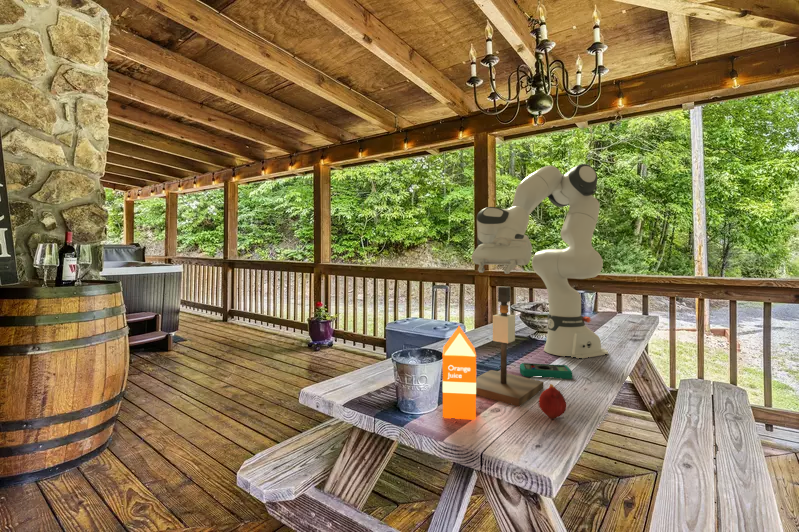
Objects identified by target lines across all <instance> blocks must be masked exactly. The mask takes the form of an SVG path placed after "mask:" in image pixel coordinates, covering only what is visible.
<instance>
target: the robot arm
mask: <svg viewBox="0 0 799 532" xmlns="http://www.w3.org/2000/svg"><path fill="white" fill-rule="evenodd" d="M597 184H598V175H597V172H596V170H595V169H594V167H593V166H592V165H590V164H588V163H582V164H577V165H576V166H574V167H572V168H571V169H570V170H568V171H567V172H565V173H564V174H563V173H561V171H560V169H559V168H557V167H556V166H554V165H545V166H542V167H541V168H538V169H537V170H535V171H534V172H532V173H530V174H529V175H528V176H526V177H525V178H523V179H522V181H520V182H519V183H518V184H517V186H516V189H515V193H514V197H513V201H512V205H511V207H509V208H501V207H500V208H499V207H495V206H488V207H485V208H483V209H481V210H480V211H479V212H478V213H477V215H476V230H477V232H476V233H477V238H476V244H477V246H476V248H475V249H474V251H473V252H472V255H471V257H470V258H471V260H472V261H473V263H474V265H478V268H477V272H479V273H482V274H483V273H484V272H485V271H486V270H485V267H484V266H485V265H488V266H489V265H496V266H500V265H501V266H504V268H503V272H504V274H506V275H507V274H510V273H511V271H512V270H513V269H515V268H516V267H517V266H527V265H529V263H530V262H531V266H532V269H533V271H534V272H535V273H536V275H538V276H539V277H540V278H541V280H542V281H543V284H544V285H545V288H546V289H547V295H548V313H547V335H546V342H545V345H544V348H543V351H544V352H546V353H547V354H551V355H555V356H557V357H558V356H560V357H565V356H571V357H570V358H573V357H576V358H575V359H579V358H582V359H587V358H588V357H589V358H594V357H601V356H606V355H605V354H607V355H608V354H609V351H608V350H607V349H605V348H604V347H602V342H601V338H600V336H599V335H598V334H596V333H595V332H594V331H593V330H592V329H590V328H589V327H588V326H587V325H586V323H588V324H589V323H590V322H591V321H592V319H591V317H589V316H583V315H582V296H581V294H580V292H579V291H578V290H576V289H575V288H574V287H572V286H571V285H570V284H569V280H568V279H574V280H575V279H577V280H585V279H591V278H596V277H597V276H598V275H600V274H601V271H602V270H603V267H604V262H603V261H604V260H603V257H602V255H600V253H599V252H598V251H597V250H595V248H594V247H593V244H592V239H593V236H594V232H595V229H596V225H597V222H598V219H599V214H600V201H599V200H598V199H597V198H596V197H594V194H595V193H596V192H597V190H598V186H597ZM547 198H548V200H549V202H550V203H552V205H554V206H556V207H559V208H563V207H567V206H568V207H569V208H568V212H567V215H566V216H565V218H564V219H565V220H564V222H563V224H562V227H561V229H560V238H561V239H562V241H563V242H564V243H565V244H567V245H568V247H566V248H548V249H547V248H546V249H542V250H538V251H537V252H535V254H534V255H533V257H532V251H533V247H532V243H531V240H530V238H529V236H528V235H527V234H526V232H527V228H528V226H529V222H530V215H531V214H532V212H534V210H535V209H536V208H537V207H538V206H539V205H540V204H541V203H542V202H543V201H544V200H545V199H547ZM531 258H532V259H531ZM589 358H588V359H589Z"/></svg>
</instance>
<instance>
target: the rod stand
mask: <svg viewBox="0 0 799 532" xmlns="http://www.w3.org/2000/svg"><path fill="white" fill-rule="evenodd" d="M497 302H498V303H499V302H500V304H499V314H500V313H501V316H507V314H509V305H508V303H510V302H511V286H503V285H502V286H498V287H497ZM507 348H508V343H503V342H500V371H498V370H493V369H490V370H488V371H486V372H484V373H482V374H480V375H478V376H476V396H480V397H483V398H486V399H489V400H493V401H498V402H500V403H504V404H507V405H511V406H514V407H517V408H518V407H519V408H520V407H521V406H522V405H523V404H525V403H526V402H527V401H529V400H530V399H532V398H533V397H534V396H535V395H537V394H538V393H540V392H541V391H543V389H544V381H541V380H537V379H534V378H530V377H524V376H520V375H516V374H511V373H507V372H508V369H507V367H508V366H507V365H508V364H507V362H508V356H507V355H508V351H507V350H508V349H507ZM539 391H540V392H539Z"/></svg>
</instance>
